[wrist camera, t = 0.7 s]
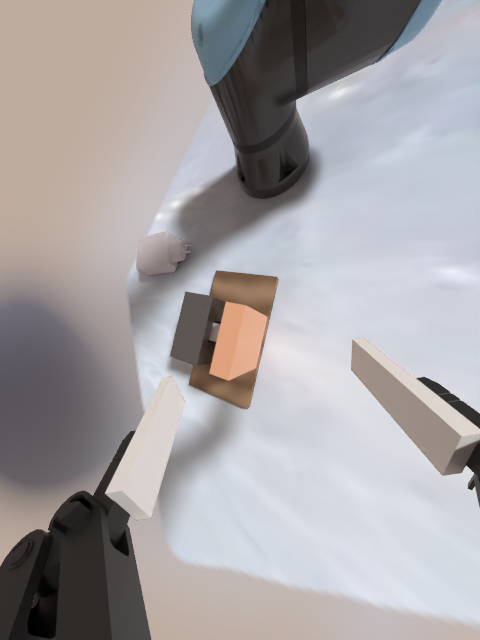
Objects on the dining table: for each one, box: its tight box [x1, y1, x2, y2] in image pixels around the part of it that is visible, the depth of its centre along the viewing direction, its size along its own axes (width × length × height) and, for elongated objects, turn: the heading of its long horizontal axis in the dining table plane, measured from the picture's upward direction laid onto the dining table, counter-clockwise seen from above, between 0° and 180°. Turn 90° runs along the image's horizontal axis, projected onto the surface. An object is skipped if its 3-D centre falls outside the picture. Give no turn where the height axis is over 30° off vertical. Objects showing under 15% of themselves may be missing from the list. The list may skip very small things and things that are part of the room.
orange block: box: [209, 302, 268, 381], centre depth 31 cm, size 10×9×12 cm
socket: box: [170, 292, 226, 366], centre depth 35 cm, size 12×6×8 cm, turn 166°
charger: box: [136, 231, 191, 275], centre depth 46 cm, size 5×9×15 cm
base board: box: [189, 271, 279, 409], centre depth 38 cm, size 26×14×2 cm, turn 166°
